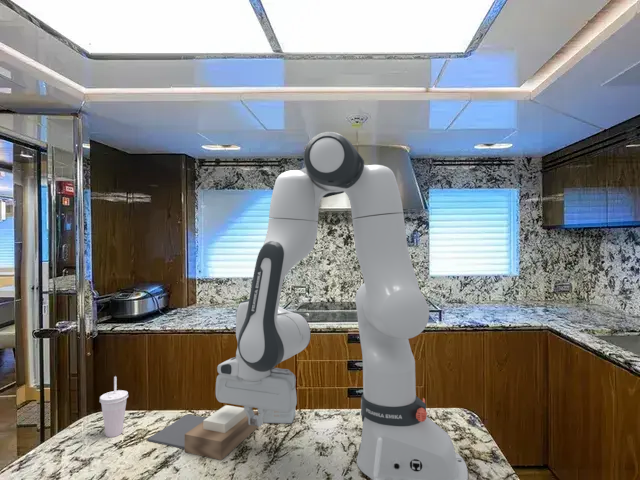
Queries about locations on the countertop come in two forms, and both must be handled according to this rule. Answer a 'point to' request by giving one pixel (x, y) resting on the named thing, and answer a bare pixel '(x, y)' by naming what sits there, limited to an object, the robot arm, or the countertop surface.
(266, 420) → the small box
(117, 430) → the smoothie
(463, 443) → the countertop surface
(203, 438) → the brown wooden block
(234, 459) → the countertop surface
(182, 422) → the mat
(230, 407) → the tile
